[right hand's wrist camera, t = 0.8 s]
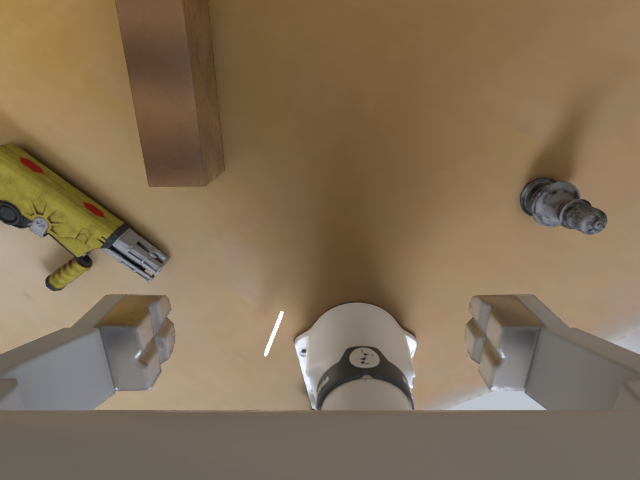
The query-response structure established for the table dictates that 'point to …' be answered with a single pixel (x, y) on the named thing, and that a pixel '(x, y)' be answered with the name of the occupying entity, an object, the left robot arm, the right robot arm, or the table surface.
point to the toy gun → (67, 219)
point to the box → (173, 89)
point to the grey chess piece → (561, 206)
